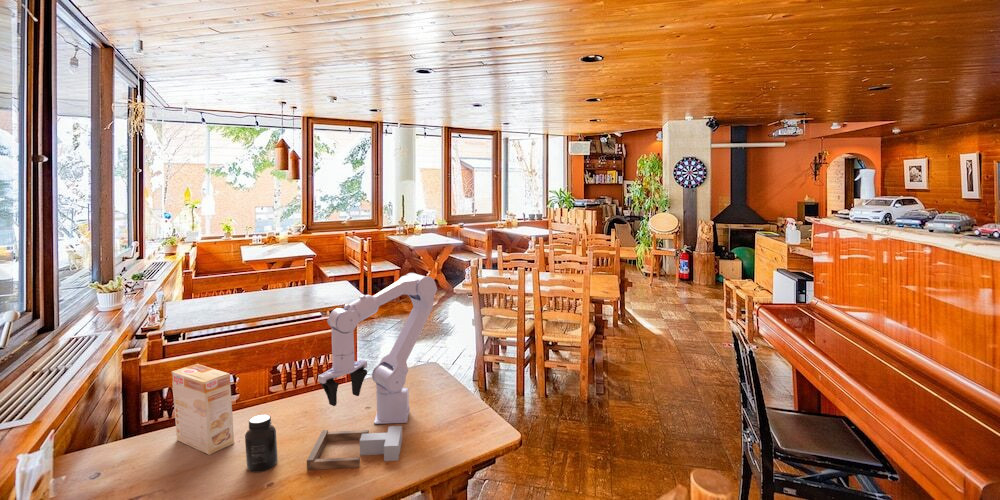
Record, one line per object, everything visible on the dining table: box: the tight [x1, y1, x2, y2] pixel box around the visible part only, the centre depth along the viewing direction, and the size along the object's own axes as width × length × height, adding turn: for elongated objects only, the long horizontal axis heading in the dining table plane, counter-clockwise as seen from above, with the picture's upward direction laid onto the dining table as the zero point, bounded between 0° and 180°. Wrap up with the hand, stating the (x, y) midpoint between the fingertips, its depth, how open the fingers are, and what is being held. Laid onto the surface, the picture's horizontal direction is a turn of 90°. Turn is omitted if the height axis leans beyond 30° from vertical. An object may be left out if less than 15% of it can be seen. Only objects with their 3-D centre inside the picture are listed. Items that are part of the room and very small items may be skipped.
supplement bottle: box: [244, 413, 278, 473], centre depth 116 cm, size 7×7×12 cm
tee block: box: [359, 425, 403, 462], centre depth 124 cm, size 10×10×4 cm
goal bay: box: [306, 429, 370, 471], centre depth 123 cm, size 12×14×2 cm
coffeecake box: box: [170, 363, 235, 456], centre depth 126 cm, size 15×7×20 cm, turn 62°
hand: (344, 399), depth 131 cm, fingers open, 7 cm apart
